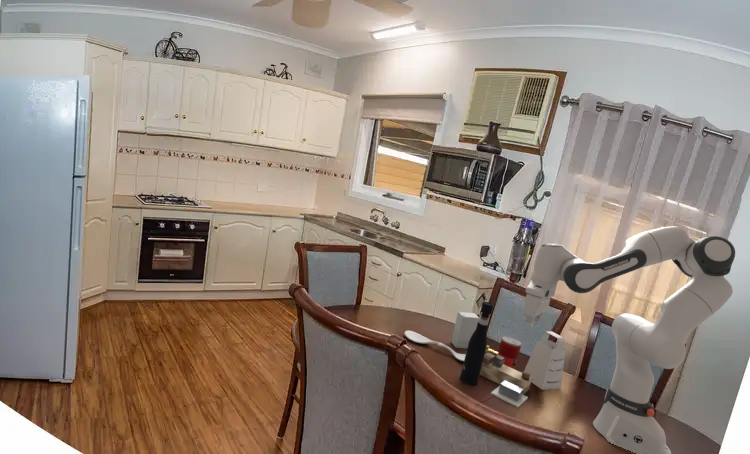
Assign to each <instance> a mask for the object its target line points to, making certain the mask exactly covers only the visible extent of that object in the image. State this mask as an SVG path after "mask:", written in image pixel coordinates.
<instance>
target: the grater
mask: <svg viewBox="0 0 750 454" xmlns="http://www.w3.org/2000/svg"><path fill="white" fill-rule="evenodd" d="M550 335H551V336H552V337H555V338H556V339H557V343H556V342H554V341H553V340H549V337H550ZM564 345H565V339H564V337H563V336H561V335H559V334H558V333H556V332H554V331H547V330H546V331H544V332H542V336H541V340H537V342H536V344H535V346H534V348H533V350H532V352H531V354H530V357H529V359H528V361H527V363H526V365H525V368H524V370H523V371H526V372H528V373H530V374H531V375H530V377H532V380H531V384H534V385H535V386H536V387H537V388H538V389H540V390H542V391H543V390H554V389H561V388H562V384H563V383H562V382H563V373H564V367H565V359H566V358H565V357H566V351H567V350H566V348H565V347H564ZM548 382H549V383H548Z"/></svg>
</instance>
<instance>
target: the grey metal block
mask: <svg viewBox="0 0 750 454" xmlns="http://www.w3.org/2000/svg"><path fill="white" fill-rule="evenodd" d="M499 386H500V387H499ZM499 386H498V387H499V391H498V392H499V393H501V394H503V395H505V396H507V397H509V398H511V399H513V400H515V401H518V400H519V399H520V398H521V397H522V394H523V390H524V389H522V388H520V387H518V386H516V385H514V384H512V383H510V382H508V381H503V382H502V383H501V384H499Z"/></svg>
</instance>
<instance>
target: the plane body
mask: <svg viewBox="0 0 750 454" xmlns="http://www.w3.org/2000/svg"><path fill="white" fill-rule="evenodd" d="M503 362H504V357H502V356H500V355H497V356H495V355H493V354H490V353H488V352H486V353H485V355H484V359H483V363H482V367H481V370H480V374H479V376H482V377H484V378H487V379H488V380H490V381H492V382H495V383H496V384H498V385H500V384H501V383H502V382H503V381H508V382H510V383H512V384H514V385H516V386H518V387H520V388H522V389H524V390H523V395H525V394H526V393H527V392H528V391H529V390H530V387H531V384H532V382H531V380H532V377H530V375H531V374H530V373H528V372H526V371H524V370H523V371H522V372H521V371H519V370H517V369H515V368H514V369H513V368H510V367H508V366H506V365H504V364H503Z"/></svg>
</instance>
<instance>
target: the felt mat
mask: <svg viewBox="0 0 750 454" xmlns="http://www.w3.org/2000/svg"><path fill="white" fill-rule="evenodd" d="M499 387H500V385H498V386H497V387H496V388H494V389H493V390H492V391H491V392H490V395H492V396H494V397H496V398H498V399H499V400H502V401H504V402H506V403H508V404H510V405H512V406H513V407H516V408H520V407H521V406H522V405H523V404H524V403H525V402H526V401H527V400H528V399H529V398H528V395H525V394H524V395H523V394H522V397H521V398H520V399H519V400H518V401H515V400H513V399H511V398H509V397H507V396H505V395H503V394H501V393H499V392H498V391H499Z"/></svg>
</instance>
